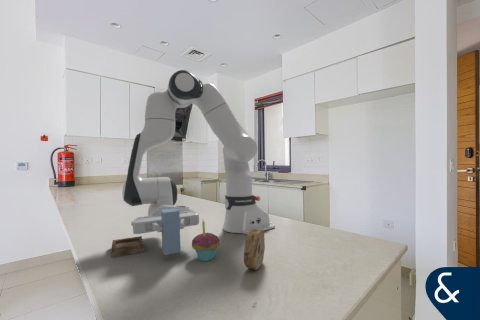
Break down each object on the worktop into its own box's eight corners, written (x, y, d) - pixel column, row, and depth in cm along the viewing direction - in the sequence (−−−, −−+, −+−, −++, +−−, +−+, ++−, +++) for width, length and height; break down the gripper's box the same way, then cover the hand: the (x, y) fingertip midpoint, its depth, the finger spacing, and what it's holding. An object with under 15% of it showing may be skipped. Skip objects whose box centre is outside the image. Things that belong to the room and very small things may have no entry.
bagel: (254, 258, 70) (254, 224, 70) (266, 260, 68) (266, 225, 68) (241, 274, 60) (240, 235, 60) (254, 276, 58) (254, 236, 58)
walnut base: (141, 243, 83) (141, 236, 83) (143, 251, 75) (143, 244, 75) (112, 247, 79) (112, 240, 79) (111, 257, 71) (111, 249, 71)
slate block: (177, 246, 73) (176, 208, 73) (180, 251, 69) (179, 211, 69) (162, 249, 71) (161, 210, 71) (164, 255, 67) (163, 212, 67)
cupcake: (215, 264, 65) (214, 221, 65) (186, 262, 67) (186, 220, 67) (223, 252, 74) (223, 214, 74) (197, 251, 75) (197, 213, 75)
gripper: (130, 212, 77) (131, 222, 64) (192, 205, 86) (203, 212, 73) (131, 231, 77) (132, 245, 64) (192, 222, 86) (204, 232, 73)
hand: (171, 227), depth 69 cm, fingers closed on slate block, 4 cm apart
